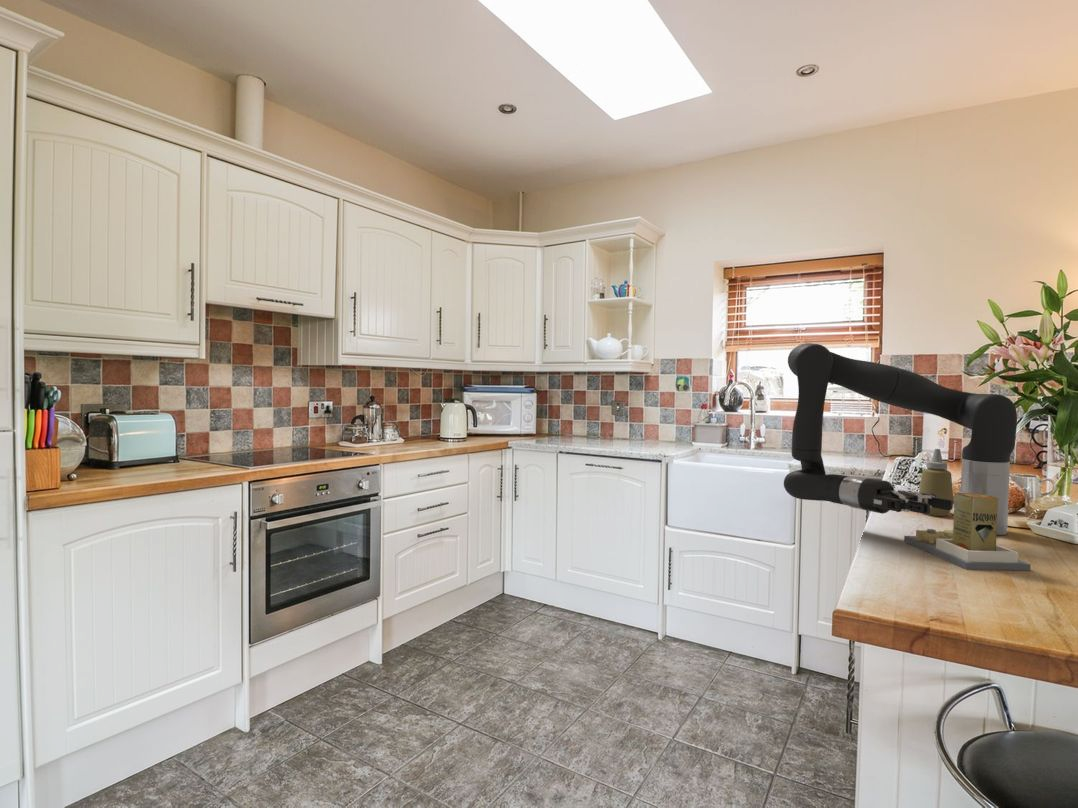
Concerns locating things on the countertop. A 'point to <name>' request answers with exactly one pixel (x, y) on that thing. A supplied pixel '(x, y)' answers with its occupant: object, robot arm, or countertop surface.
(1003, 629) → the countertop surface
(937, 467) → the squeeze bottle
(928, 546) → the gear board
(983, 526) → the shoe polish box
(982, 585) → the countertop surface
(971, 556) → the square socket
